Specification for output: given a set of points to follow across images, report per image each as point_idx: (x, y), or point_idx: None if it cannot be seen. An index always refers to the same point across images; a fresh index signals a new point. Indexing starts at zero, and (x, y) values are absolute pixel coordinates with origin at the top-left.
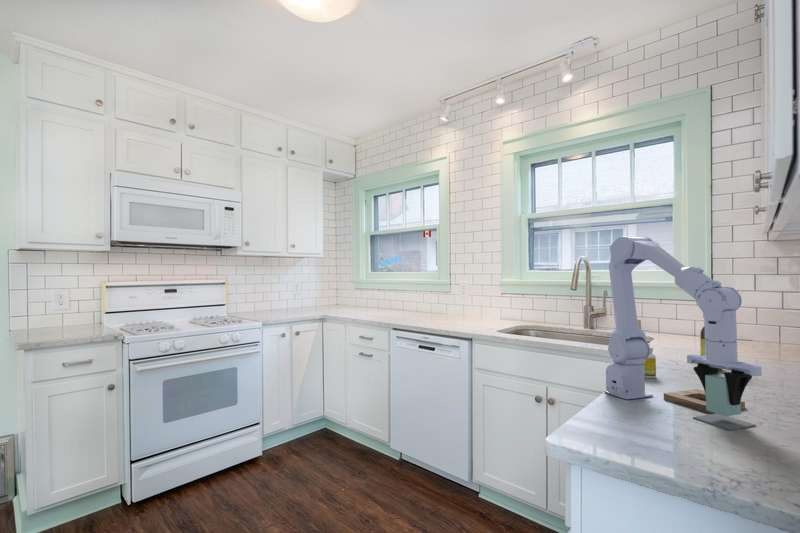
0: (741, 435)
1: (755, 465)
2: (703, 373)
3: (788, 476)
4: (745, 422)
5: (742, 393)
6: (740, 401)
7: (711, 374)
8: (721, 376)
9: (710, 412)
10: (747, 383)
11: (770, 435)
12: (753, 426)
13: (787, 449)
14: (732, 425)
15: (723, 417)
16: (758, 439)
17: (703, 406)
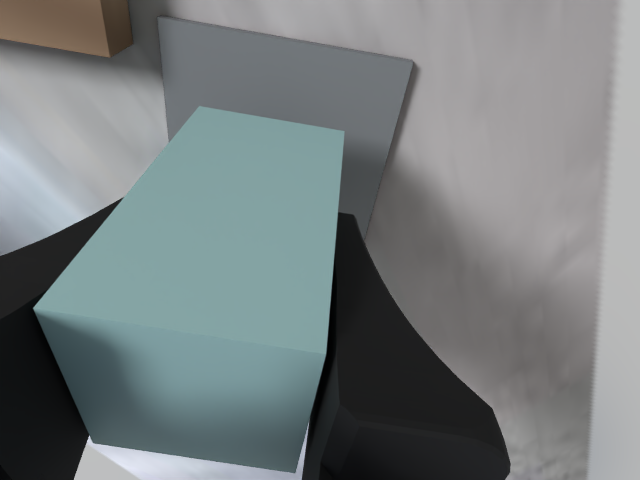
0: (412, 266)
1: (509, 428)
2: (78, 461)
3: (580, 433)
4: (356, 74)
5: (375, 271)
6: (340, 180)
7: (80, 399)
8: (192, 415)
9: (129, 42)
10: (427, 349)
11: (506, 166)
12: (405, 88)
13: (580, 282)
14: (341, 195)
15: (237, 89)
16: (474, 260)
17: (64, 44)
